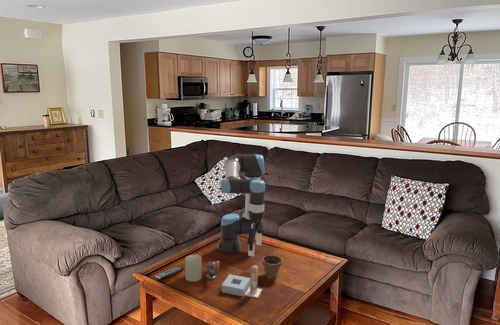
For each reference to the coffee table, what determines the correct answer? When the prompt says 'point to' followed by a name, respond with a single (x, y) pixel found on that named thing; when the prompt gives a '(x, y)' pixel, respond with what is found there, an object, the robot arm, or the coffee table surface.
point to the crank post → (211, 274)
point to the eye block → (236, 285)
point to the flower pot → (271, 265)
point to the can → (193, 267)
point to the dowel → (253, 279)
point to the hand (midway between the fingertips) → (255, 250)
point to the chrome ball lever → (214, 265)
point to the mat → (253, 294)
